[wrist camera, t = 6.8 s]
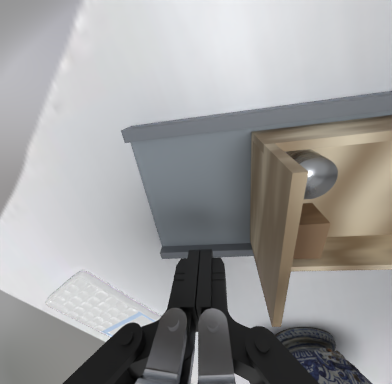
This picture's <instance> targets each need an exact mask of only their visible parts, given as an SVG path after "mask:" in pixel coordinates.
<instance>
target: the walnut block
mask: <svg viewBox="0 0 392 384" xmlns="http://www.w3.org/2000/svg"><path fill="white" fill-rule="evenodd" d="M330 224H331V223H330V222H329V221H328V220H327V219H326V218H325V216H324V215H323V214H322V213H321V212H320V211H319V210H318V209H317V208H316V206H315V205H314V204H313V203H303V206H302V211H301V217H300V222H299V228H298V234H297V239H296V245H295V250H294V256H293V259H321V256H322V252H323V249H324V245H325V242H326V238H327V235H328V231H329V228H330Z"/></svg>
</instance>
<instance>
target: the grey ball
mask: <svg viewBox="0 0 392 384" xmlns="http://www.w3.org/2000/svg"><path fill="white" fill-rule="evenodd" d="M285 153H287V154H288V155H289V156H290V157H291V158H293V159H294V160H295V161H296V162H297V163H299V164H300V165H301V166H302V167H303V168H305V169H306V170H307V171H308V178H307V183H306V189H305V194H304V199H313V198H317V197H319V196H322V195H323V194H325V193H326V192H328V191H329V190H330V189H331V188H332V187H333V186H334V184H335V182H336V180H337V177H338V170H337V167H336V165H335V164H334V163H333V162H332V161H331V160H329V159H327V158H326V157H324V156H322V155H320V154H319V153H317V152H315V151H313V150H312V149H306V150H297V151H287V152H285Z"/></svg>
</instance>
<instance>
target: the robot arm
mask: <svg viewBox="0 0 392 384" xmlns="http://www.w3.org/2000/svg"><path fill="white" fill-rule="evenodd" d="M196 332H198V384H236V383H235V376H234V373H235V374H237V375H239V376H241V377H243V378H244V379H246V380H248V381H249V382H250V384H319V383H318V382H317V381H316V380H315V379H314V377H313V376H312V375H311V374H310V373H309V372H308V371H307V370H306V369H305V368H304V367H303V366H302V364H301V363H300V362H299V361H298V360H297V359H296V358H295V357H294V356H293V355H292V354H291V353H290V352H289V350H288V349H287V348H286V347H285V346H284V345H283V344H282V343H281V342H280V341H279V340H278V339H277V337H276V336H275V335H274V334H273V333H272V332H271V331H269V330H268V329H266V328H264V327H261V326H256V327H253V328H251V329H250V328H248V327H245V326H243V325H241V324H239V323H237V322H235V321H234V320H233V319H232V318H231V316H230V315H229V313H228V309H227V293H226V278H225V267H224V263H223V261H222V259H221V258H220V257H219V258H213V252H212V249H201V250H200V249H199V250H189V252H188V258H184V259H181V260H180V261H179V263H178V264H177V266H176V271H175V276H174V281H173V285H172V290H171V294H170V299H169V304H168V308H167V310H166V312H165V313H164V314H163V315H162V317H161V318H160V319H159V320H157V321H155V322H153V323H150V324H148V325H145V326H142V327H141V326H140V325H139V324H138V323H134V322H132V323H128V324H126V325H124V326H123V327H122V328H120V329H119V330H118V331H117V332H116V333H115V334H114V335H113V336H112V337H111V338H110V339H109V340H108V341H107V342H106V343H105V344H104V345H103V346H102V347H100V348H99V350H97V352H95V353H94V354H93V355H92V356H91V357H90V358H89V359H88V360H87V361H86V362H85V363H84V364H83V365H82V366H81V367H79V368H78V369H77V370H76V371H75V372H74V373H73V374H72V375H71V376H70V377H69V378H68V379H67V380H66V381H65V382H64V383H63V384H190V383H191V375H192V367H193V360H194V352H195V333H196Z"/></svg>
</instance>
